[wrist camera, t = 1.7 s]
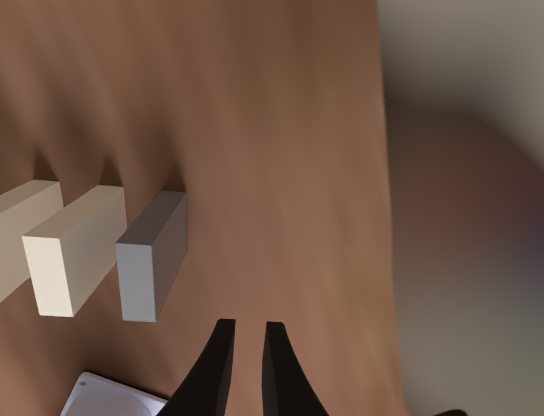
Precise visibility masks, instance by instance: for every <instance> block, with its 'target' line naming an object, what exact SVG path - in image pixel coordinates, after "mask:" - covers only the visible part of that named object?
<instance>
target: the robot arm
mask: <svg viewBox="0 0 544 416" xmlns="http://www.w3.org/2000/svg"><path fill="white" fill-rule="evenodd" d="M235 322H236V320H235V319H219V320H218V321H217V323H216V326H215V328H214V330H213V333H212V335H211V337H210V339H209V341H208V342H207V344H206V346H205V348H204V350H203V351H202V353H201V355H200V356H199V358H198V360H197V361H196V363H195V364H194V366H193V367H192V369H191V370H190V372H189V373H188V375H187V376H186V378H185V379H184V381H183V382H182V383H181V385H180V386H179V388H178V389H177V390H176V392H175V393H174V394H173V395H172V397H171V398H170V399H169V400H168V401H167V400H165V399H162V398H159V397H156V396H153V395H151V394H148V393H145V392H142V391H139V390H137V389H134V388H131V387H128V386H125V385H123V384H120V383H117V382H114V381H112V380H109V379H106V378H103V377H100V376H98V375H95V374H92V373H89V372H83V373H82V374H81V375H80V376H79V378H78V380H77V382H76V384H75V386H74V388H73V390H72V392H71V394H70V396H69V398H68V400H67V402H66V404H65V406H64V408H63V410H62V412H61V414H60V416H224V414H225V409H226V404H227V399H228V394H229V389H230V383H231V373H232V363H233V351H234V336H235ZM262 399H263V415H264V416H329V415H328V413H327V412H326V410H325V409H324V407H323V406H322V404H321V402H320V401H319V399H318V398H317V396H316V394H315V393H314V391H313V389H312V387H311V385H310V384H309V382H308V380H307V378H306V376H305V374H304V372H303V370H302V368H301V366H300V364H299V362H298V360H297V358H296V355H295V353H294V351H293V348H292V346H291V343H290V341H289V338H288V335H287V332H286V329H285V325H284V324H283V323H282V322H268V321H267V324H266V333H265V342H264V350H263V359H262Z"/></svg>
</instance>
